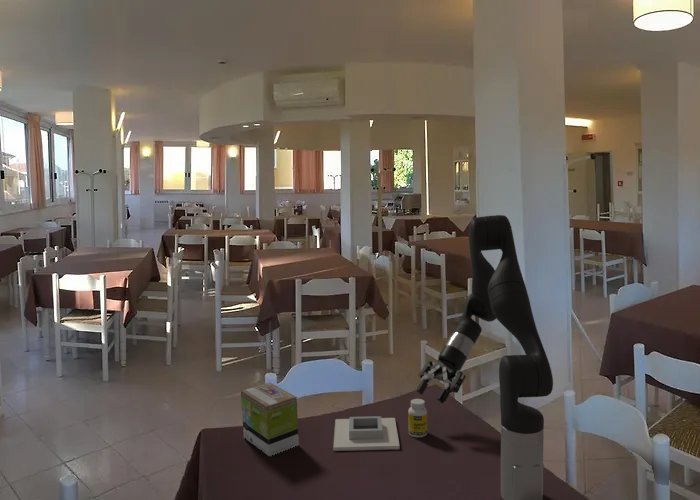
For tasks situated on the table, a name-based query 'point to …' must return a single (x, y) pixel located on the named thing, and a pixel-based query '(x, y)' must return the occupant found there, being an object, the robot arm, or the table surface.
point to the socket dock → (365, 434)
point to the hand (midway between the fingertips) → (429, 397)
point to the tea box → (270, 418)
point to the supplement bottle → (417, 418)
